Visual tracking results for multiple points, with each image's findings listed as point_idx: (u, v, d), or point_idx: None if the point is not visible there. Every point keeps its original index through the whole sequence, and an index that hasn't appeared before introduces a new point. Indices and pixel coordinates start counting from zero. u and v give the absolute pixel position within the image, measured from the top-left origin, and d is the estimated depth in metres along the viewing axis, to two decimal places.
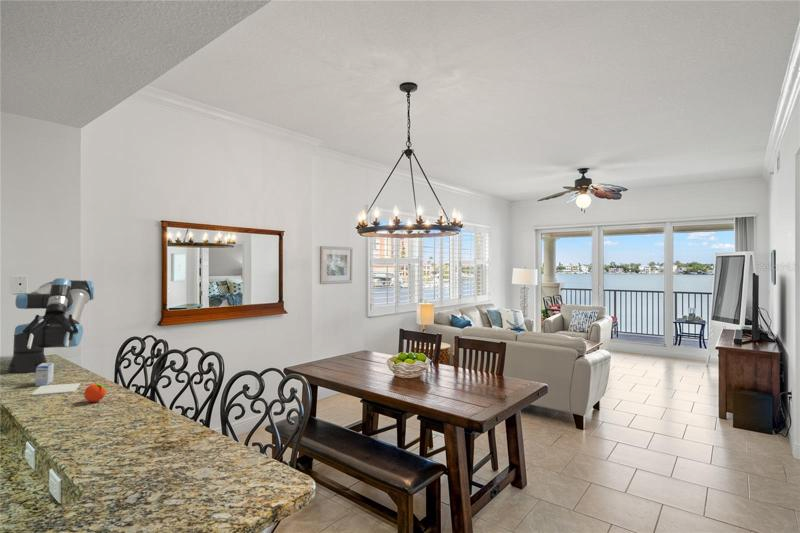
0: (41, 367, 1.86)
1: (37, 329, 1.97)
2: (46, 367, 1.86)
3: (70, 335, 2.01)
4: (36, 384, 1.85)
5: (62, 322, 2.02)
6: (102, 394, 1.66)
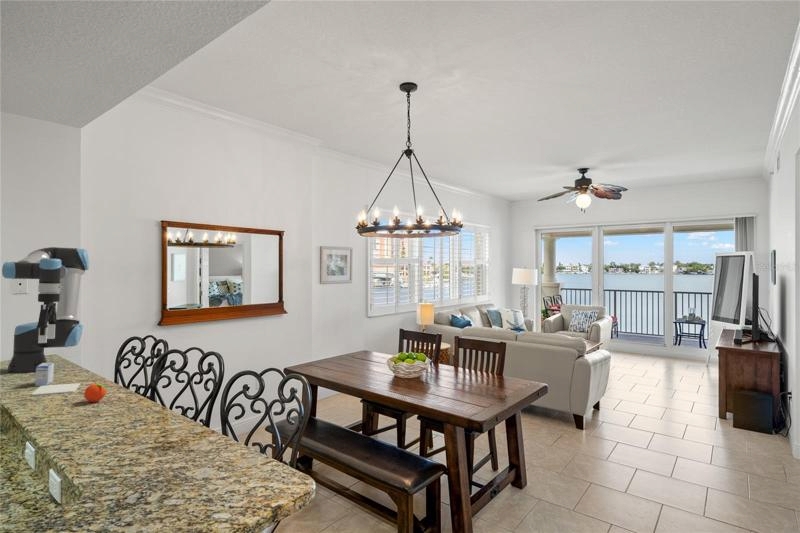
0: (41, 367, 1.86)
1: None
2: (46, 367, 1.86)
3: None
4: (36, 384, 1.85)
5: None
6: (102, 394, 1.66)
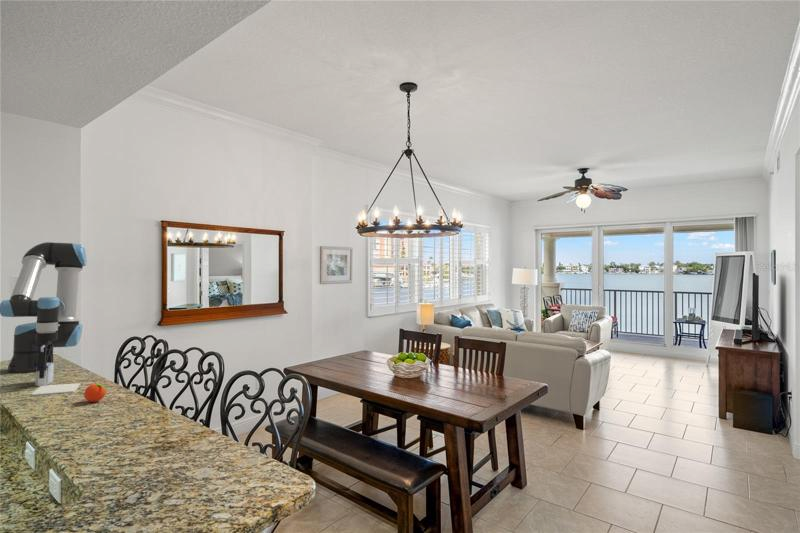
0: None
1: None
2: (46, 367, 1.86)
3: None
4: (36, 384, 1.85)
5: (51, 352, 1.93)
6: (102, 394, 1.66)
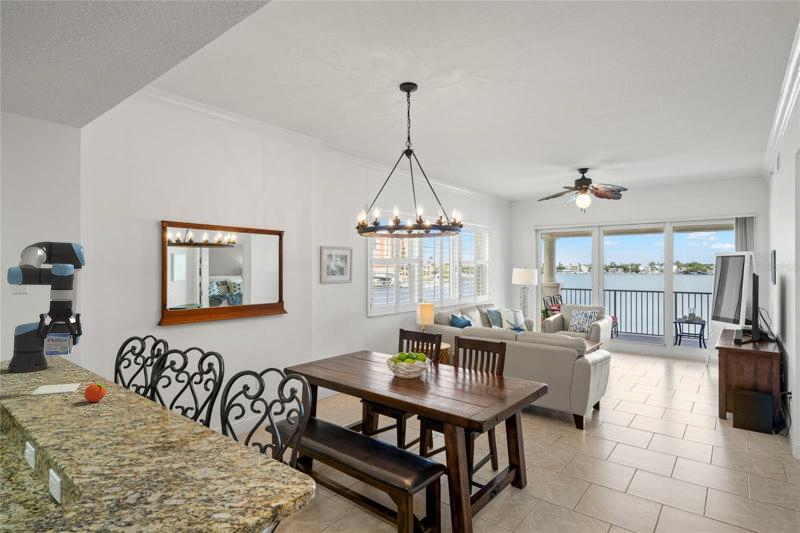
0: (70, 334, 1.83)
1: None
2: None
3: None
4: (68, 352, 1.81)
5: None
6: (102, 394, 1.66)
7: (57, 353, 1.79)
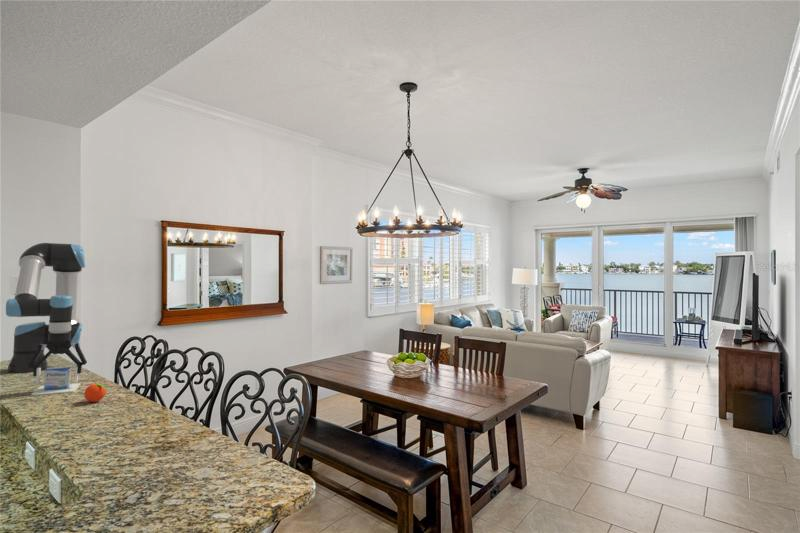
0: (69, 368, 1.83)
1: None
2: (70, 368, 1.84)
3: None
4: (67, 386, 1.81)
5: None
6: (102, 394, 1.66)
7: (56, 387, 1.79)
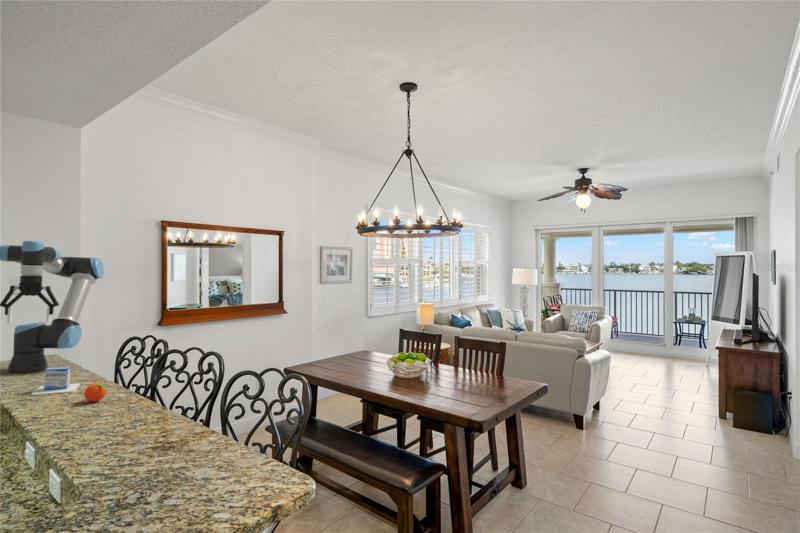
0: (69, 368, 1.83)
1: None
2: (70, 368, 1.84)
3: None
4: (67, 386, 1.81)
5: None
6: (102, 394, 1.66)
7: (56, 388, 1.79)
